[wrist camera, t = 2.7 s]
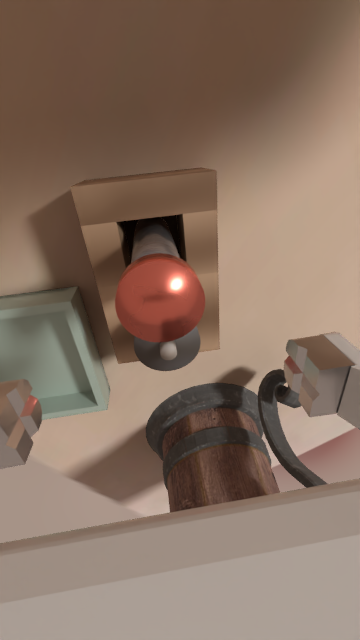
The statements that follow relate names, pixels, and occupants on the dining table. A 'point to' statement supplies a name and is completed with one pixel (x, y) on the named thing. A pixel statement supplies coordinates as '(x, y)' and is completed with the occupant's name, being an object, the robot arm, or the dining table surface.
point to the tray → (53, 351)
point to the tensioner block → (114, 257)
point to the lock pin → (158, 287)
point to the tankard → (224, 442)
